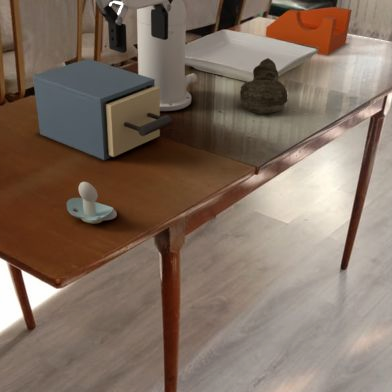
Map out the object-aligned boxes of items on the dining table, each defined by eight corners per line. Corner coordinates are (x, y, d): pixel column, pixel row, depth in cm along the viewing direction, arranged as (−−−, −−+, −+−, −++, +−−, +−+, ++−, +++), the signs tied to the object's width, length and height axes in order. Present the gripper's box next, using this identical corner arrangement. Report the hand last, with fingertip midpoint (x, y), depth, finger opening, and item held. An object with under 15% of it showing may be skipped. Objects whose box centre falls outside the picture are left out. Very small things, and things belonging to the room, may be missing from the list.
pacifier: (85, 203, 98) (62, 219, 94) (83, 165, 94) (59, 179, 90) (125, 215, 96) (103, 232, 91) (124, 177, 92) (101, 192, 87)
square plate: (268, 93, 138) (270, 75, 136) (165, 68, 148) (165, 51, 146) (317, 62, 156) (320, 46, 153) (222, 42, 166) (223, 26, 163)
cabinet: (155, 137, 118) (154, 79, 111) (104, 160, 110) (100, 99, 103) (92, 114, 125) (88, 58, 118) (40, 134, 117) (32, 75, 110)
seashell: (306, 74, 130) (266, 63, 134) (286, 52, 119) (243, 40, 124) (284, 128, 132) (245, 115, 137) (263, 110, 122) (221, 97, 126)
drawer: (180, 143, 114) (181, 94, 108) (135, 165, 106) (133, 114, 101) (99, 114, 123) (96, 67, 117) (52, 132, 115) (46, 83, 110)
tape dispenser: (345, 43, 169) (351, 9, 164) (327, 55, 161) (333, 19, 156) (285, 31, 176) (289, -2, 171) (265, 42, 168) (268, 7, 162)
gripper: (112, -77, 82) (118, 61, 93) (195, -87, 92) (191, 38, 103) (72, -84, 85) (83, 50, 96) (157, -93, 96) (157, 29, 107)
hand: (139, 44), depth 100 cm, fingers open, 9 cm apart
